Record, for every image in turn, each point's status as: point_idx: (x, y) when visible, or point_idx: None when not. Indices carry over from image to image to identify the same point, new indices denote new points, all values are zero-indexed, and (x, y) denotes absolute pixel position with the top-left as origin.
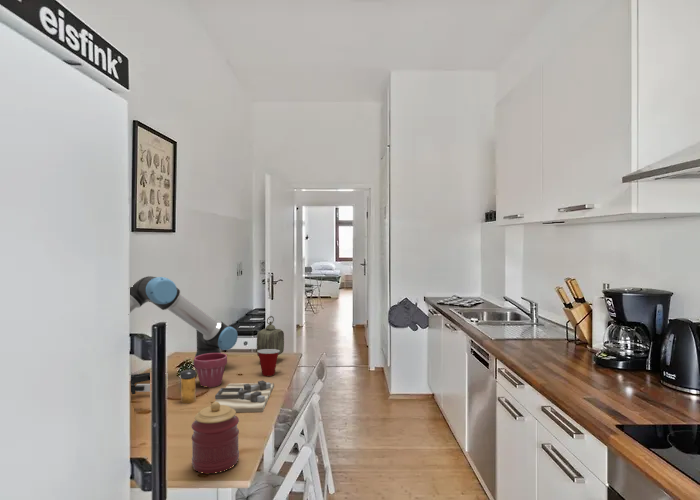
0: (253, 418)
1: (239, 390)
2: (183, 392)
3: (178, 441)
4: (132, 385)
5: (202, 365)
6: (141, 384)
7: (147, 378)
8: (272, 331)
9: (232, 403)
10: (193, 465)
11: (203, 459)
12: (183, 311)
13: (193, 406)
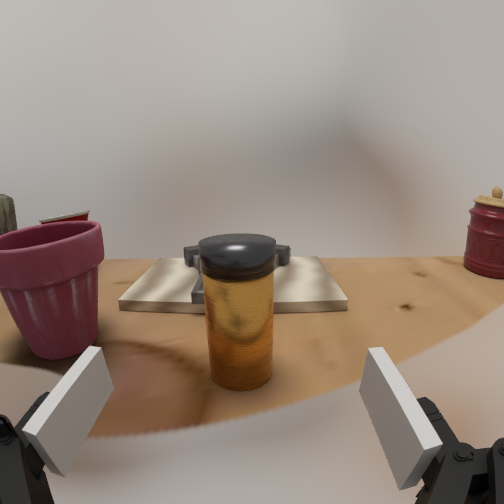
0: (350, 267)
1: None
2: (271, 335)
3: (488, 305)
4: (471, 457)
5: (85, 255)
6: (418, 407)
7: (42, 489)
8: (3, 194)
9: (298, 280)
10: None
11: None
12: None
13: (299, 347)
